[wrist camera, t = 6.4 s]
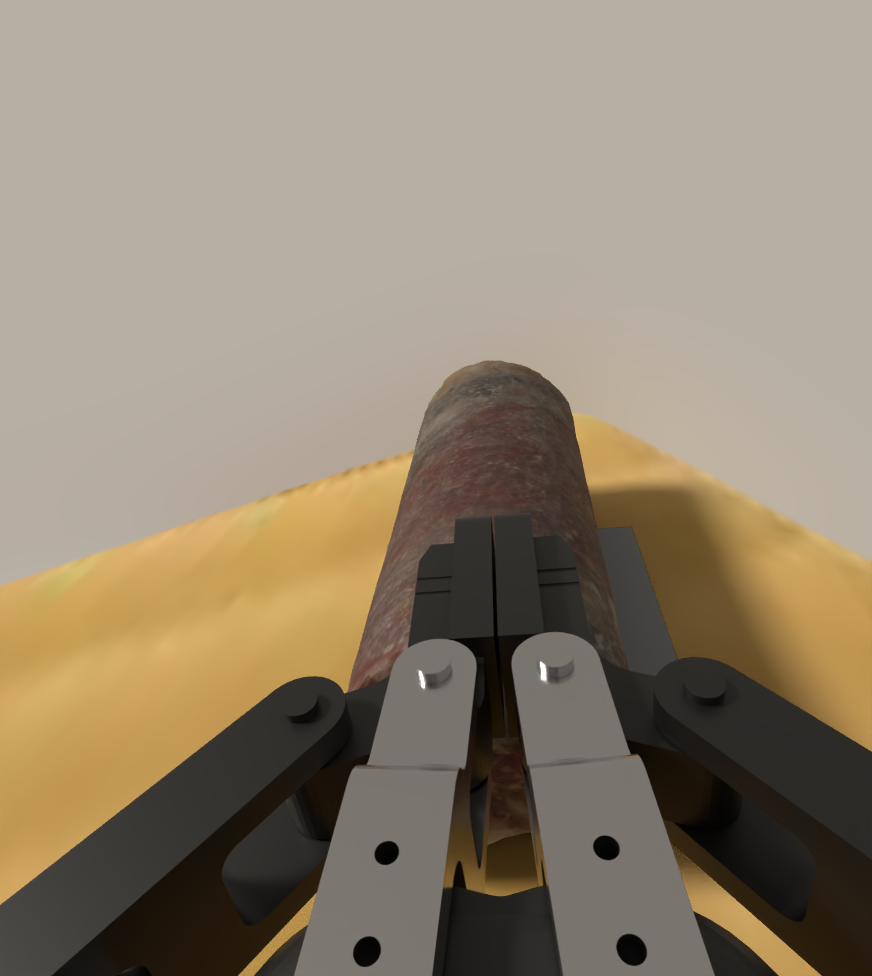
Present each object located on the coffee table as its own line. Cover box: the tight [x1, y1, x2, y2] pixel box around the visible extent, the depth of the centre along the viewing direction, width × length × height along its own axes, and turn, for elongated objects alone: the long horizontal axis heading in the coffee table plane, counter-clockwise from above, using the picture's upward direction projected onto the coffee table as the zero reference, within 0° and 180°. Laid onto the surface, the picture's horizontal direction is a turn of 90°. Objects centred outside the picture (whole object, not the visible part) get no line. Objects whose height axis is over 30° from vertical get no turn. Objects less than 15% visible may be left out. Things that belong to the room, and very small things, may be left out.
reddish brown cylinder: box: [347, 361, 629, 845], centre depth 24 cm, size 8×7×20 cm
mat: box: [386, 527, 678, 833], centre depth 25 cm, size 11×14×1 cm
